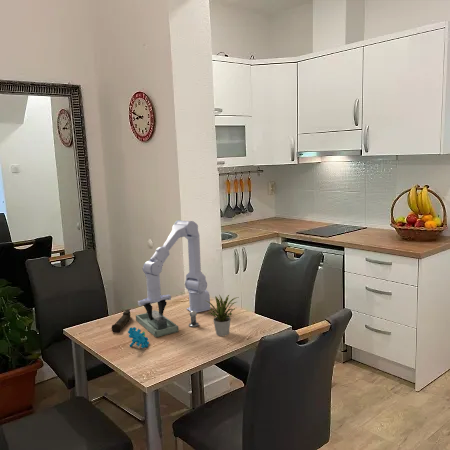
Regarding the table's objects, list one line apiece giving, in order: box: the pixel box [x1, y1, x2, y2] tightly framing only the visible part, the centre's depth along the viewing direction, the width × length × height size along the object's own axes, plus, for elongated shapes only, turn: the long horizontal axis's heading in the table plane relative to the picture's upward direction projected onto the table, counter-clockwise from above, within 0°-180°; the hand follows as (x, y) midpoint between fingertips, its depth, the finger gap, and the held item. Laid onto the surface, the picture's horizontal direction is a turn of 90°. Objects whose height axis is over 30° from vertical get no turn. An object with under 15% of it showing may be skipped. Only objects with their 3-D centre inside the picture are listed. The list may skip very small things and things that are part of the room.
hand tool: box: [111, 309, 131, 334], centre depth 202 cm, size 19×4×5 cm, turn 172°
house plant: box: [207, 294, 239, 337], centre depth 185 cm, size 14×14×16 cm
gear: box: [127, 326, 150, 349], centre depth 178 cm, size 11×6×10 cm
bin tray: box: [135, 310, 179, 338], centre depth 199 cm, size 10×24×2 cm, turn 30°
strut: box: [145, 309, 167, 330], centre depth 198 cm, size 4×14×4 cm, turn 30°
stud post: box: [188, 310, 200, 328], centre depth 197 cm, size 4×4×7 cm
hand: (155, 318), depth 199 cm, fingers closed on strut, 4 cm apart
